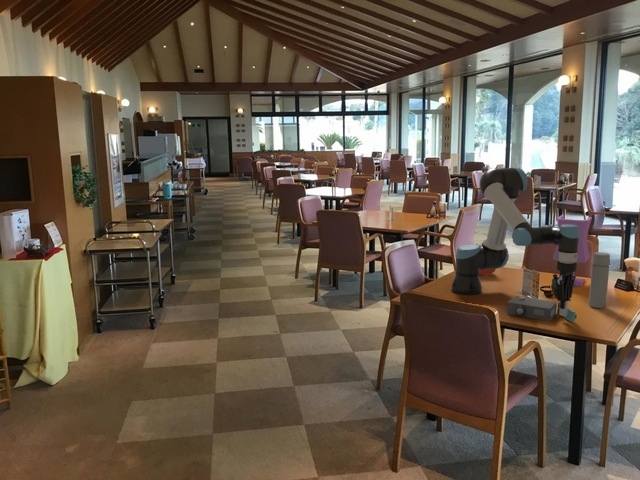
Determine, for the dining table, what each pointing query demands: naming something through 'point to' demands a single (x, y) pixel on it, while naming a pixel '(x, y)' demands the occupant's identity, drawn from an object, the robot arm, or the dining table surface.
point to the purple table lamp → (582, 243)
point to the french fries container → (486, 270)
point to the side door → (568, 314)
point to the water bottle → (599, 280)
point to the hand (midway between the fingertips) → (563, 315)
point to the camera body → (532, 308)
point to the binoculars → (554, 288)
